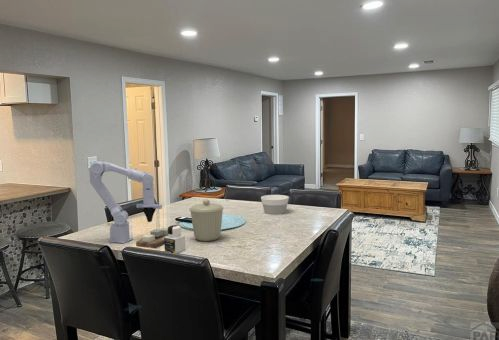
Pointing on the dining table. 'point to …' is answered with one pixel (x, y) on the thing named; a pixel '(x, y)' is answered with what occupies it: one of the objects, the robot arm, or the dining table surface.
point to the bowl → (275, 204)
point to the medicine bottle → (174, 240)
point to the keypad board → (153, 242)
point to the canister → (206, 220)
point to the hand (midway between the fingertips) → (149, 221)
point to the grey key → (156, 232)
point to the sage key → (164, 231)
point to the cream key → (148, 238)
